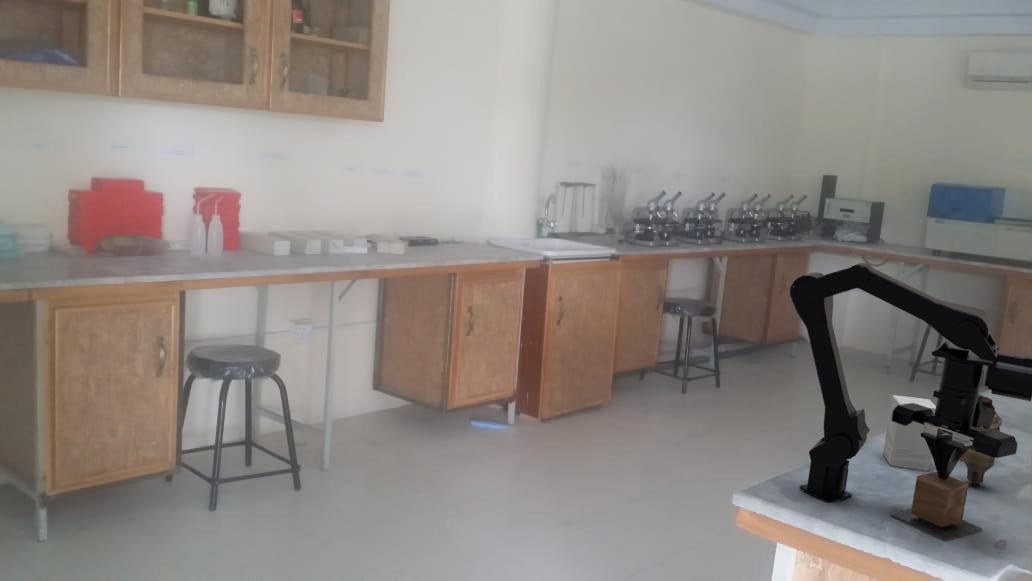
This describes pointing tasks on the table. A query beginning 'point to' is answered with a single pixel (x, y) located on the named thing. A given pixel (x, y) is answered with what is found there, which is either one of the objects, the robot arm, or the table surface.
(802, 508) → the table surface
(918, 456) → the supplement box
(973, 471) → the light bulb
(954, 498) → the cardboard carton
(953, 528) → the gray square base stand
